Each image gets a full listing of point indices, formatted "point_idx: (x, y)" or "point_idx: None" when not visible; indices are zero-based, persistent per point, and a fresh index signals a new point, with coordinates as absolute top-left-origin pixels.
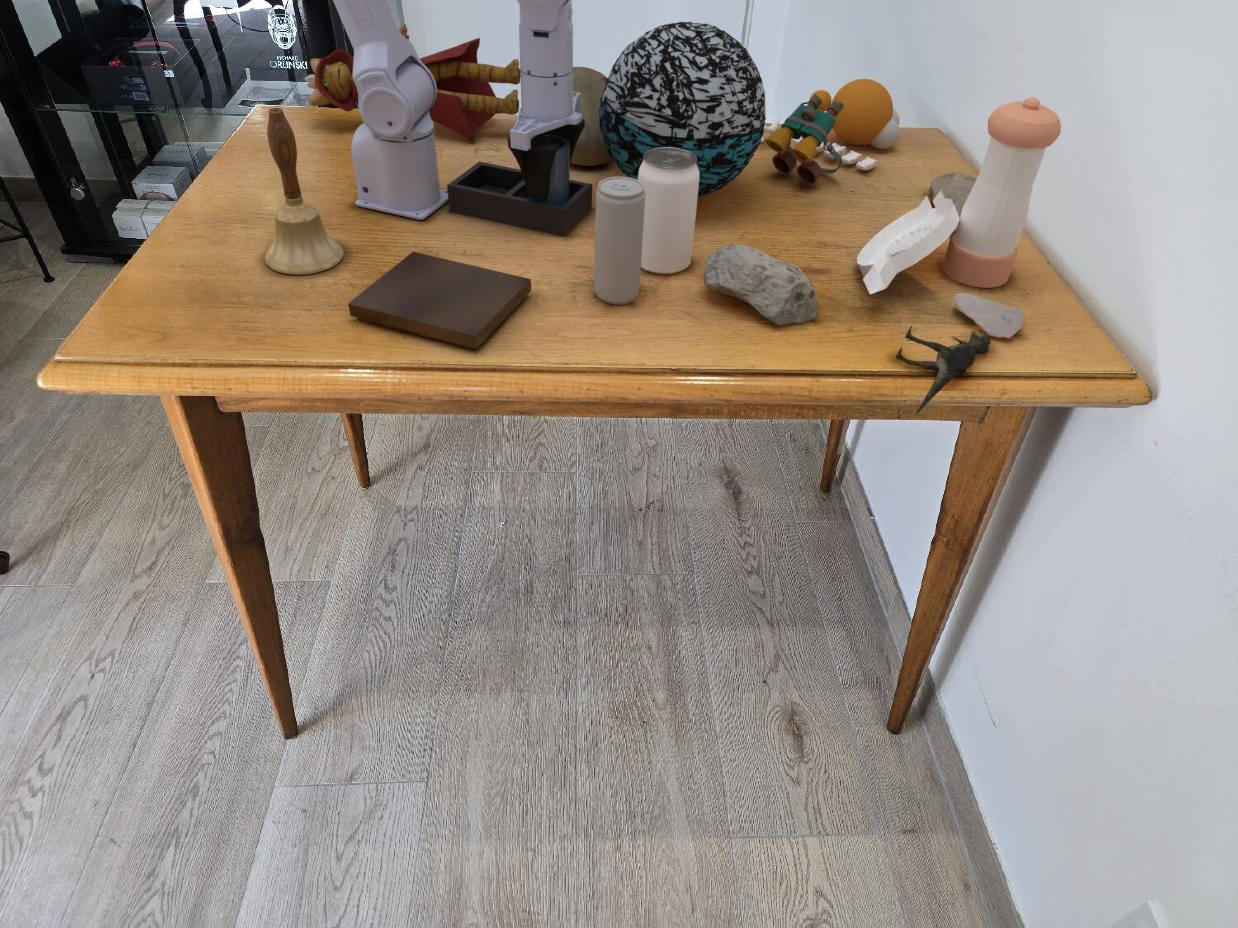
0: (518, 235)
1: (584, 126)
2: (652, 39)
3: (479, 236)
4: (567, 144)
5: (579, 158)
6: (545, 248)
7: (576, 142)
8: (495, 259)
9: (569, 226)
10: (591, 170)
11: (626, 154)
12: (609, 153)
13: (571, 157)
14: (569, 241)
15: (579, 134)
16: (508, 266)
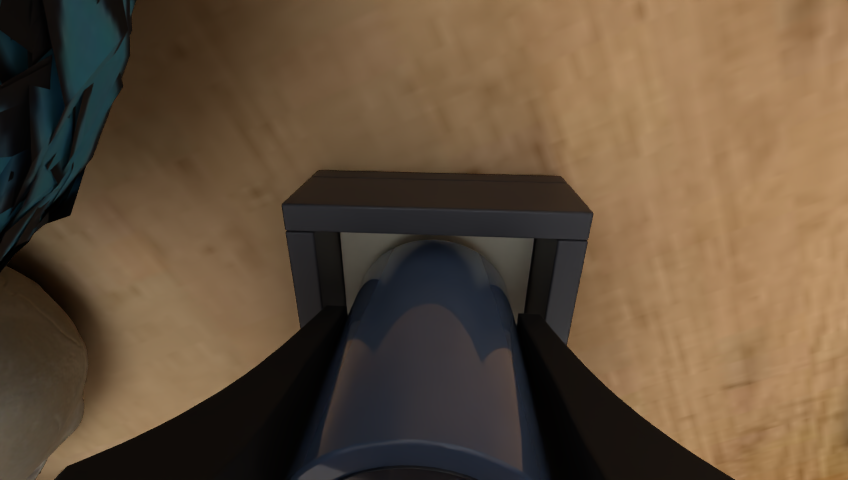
0: (592, 307)
1: (60, 474)
2: None
3: (628, 387)
4: (381, 457)
5: (56, 334)
6: (664, 204)
7: (200, 408)
8: (770, 307)
9: (528, 182)
10: (54, 278)
11: (81, 6)
12: (65, 206)
13: (274, 360)
14: (589, 149)
15: (152, 442)
16: (817, 260)
